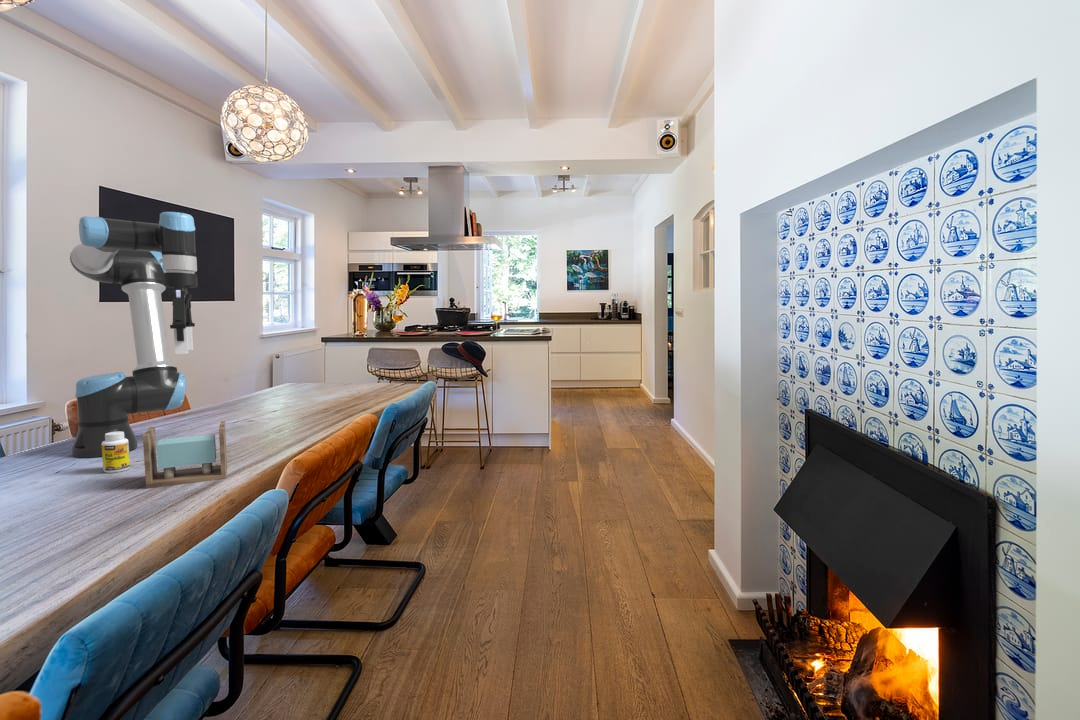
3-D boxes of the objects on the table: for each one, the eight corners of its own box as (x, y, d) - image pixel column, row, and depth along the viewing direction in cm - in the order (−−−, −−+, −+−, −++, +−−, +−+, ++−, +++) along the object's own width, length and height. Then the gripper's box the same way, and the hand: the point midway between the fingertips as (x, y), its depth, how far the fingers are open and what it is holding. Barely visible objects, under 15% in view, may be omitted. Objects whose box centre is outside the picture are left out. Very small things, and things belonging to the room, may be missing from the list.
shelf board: (160, 462, 132) (159, 439, 131) (216, 456, 138) (215, 434, 137) (158, 469, 127) (156, 445, 126) (215, 462, 133) (214, 439, 132)
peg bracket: (153, 476, 133) (149, 427, 132) (227, 467, 141) (225, 421, 140) (146, 488, 124) (142, 435, 123) (225, 478, 132) (223, 428, 131)
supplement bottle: (101, 474, 134) (99, 436, 133) (105, 469, 139) (102, 432, 138) (129, 471, 137) (126, 433, 136) (131, 466, 142) (128, 429, 141)
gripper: (169, 274, 146) (173, 349, 148) (155, 268, 124) (160, 356, 126) (200, 275, 150) (204, 348, 152) (192, 270, 128) (197, 355, 130)
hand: (184, 352), depth 139 cm, fingers open, 13 cm apart
